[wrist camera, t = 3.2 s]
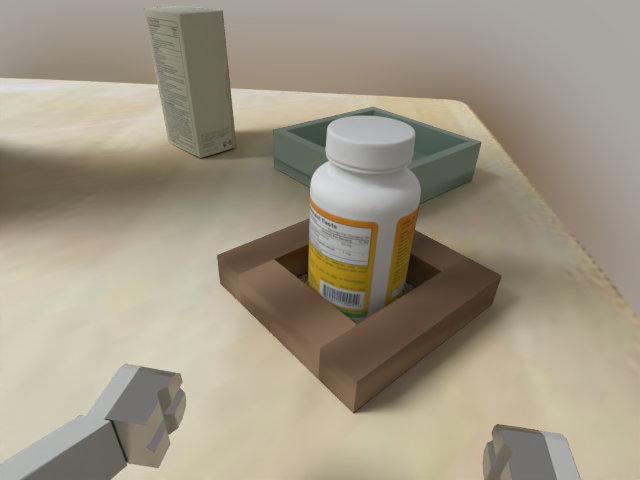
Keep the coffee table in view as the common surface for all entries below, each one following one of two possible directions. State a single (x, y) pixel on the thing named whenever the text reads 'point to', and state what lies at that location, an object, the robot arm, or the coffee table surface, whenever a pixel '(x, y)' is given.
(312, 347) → the socket block
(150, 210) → the coffee table surface
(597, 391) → the coffee table surface
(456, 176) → the tray
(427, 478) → the coffee table surface
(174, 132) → the skincare box
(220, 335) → the coffee table surface
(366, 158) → the supplement bottle
